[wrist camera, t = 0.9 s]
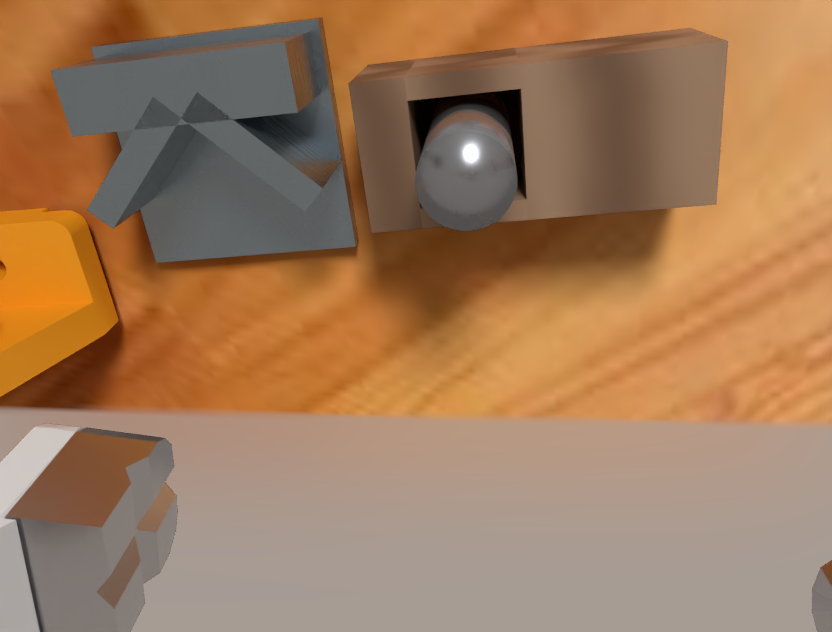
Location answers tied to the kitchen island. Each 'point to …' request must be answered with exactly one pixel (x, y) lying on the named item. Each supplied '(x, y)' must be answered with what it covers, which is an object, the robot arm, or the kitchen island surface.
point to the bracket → (48, 292)
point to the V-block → (219, 140)
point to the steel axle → (467, 163)
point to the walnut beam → (560, 124)
